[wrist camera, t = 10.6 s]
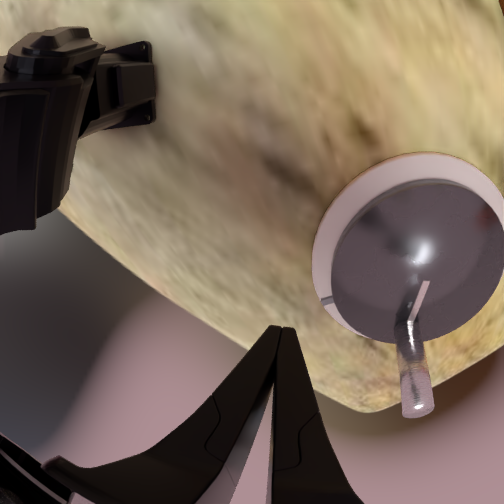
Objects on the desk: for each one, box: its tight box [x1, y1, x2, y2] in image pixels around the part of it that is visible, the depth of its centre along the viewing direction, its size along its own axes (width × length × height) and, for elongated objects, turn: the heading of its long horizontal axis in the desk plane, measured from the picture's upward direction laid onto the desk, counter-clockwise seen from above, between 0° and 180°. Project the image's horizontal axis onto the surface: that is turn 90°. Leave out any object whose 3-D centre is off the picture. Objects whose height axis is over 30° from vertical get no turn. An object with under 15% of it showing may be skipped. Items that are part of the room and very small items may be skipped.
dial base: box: [312, 152, 504, 339], centre depth 21 cm, size 18×18×1 cm
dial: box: [331, 179, 504, 418], centre depth 16 cm, size 15×15×9 cm
